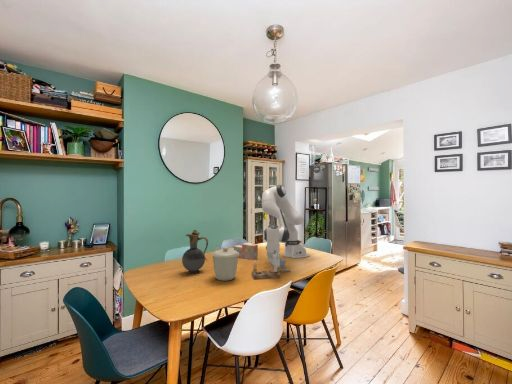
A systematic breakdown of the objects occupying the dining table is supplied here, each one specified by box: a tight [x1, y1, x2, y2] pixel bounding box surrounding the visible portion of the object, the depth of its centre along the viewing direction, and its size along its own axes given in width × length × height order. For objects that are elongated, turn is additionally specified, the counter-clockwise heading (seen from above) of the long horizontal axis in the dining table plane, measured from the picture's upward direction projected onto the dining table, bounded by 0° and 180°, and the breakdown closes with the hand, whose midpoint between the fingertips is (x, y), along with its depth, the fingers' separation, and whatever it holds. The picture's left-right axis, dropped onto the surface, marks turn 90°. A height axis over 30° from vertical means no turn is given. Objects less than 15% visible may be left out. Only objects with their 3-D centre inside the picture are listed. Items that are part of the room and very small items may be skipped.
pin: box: [252, 260, 258, 272], centre depth 177 cm, size 3×3×7 cm
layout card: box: [279, 268, 291, 273], centre depth 175 cm, size 7×3×1 cm, turn 101°
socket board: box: [251, 269, 281, 280], centre depth 165 cm, size 18×8×2 cm, turn 101°
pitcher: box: [181, 229, 209, 275], centre depth 175 cm, size 11×19×30 cm, turn 126°
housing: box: [277, 253, 286, 269], centre depth 186 cm, size 10×5×10 cm, turn 101°
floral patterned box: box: [233, 242, 259, 261], centre depth 212 cm, size 21×6×12 cm, turn 57°
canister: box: [211, 246, 239, 282], centre depth 162 cm, size 18×18×21 cm
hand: (273, 269), depth 166 cm, fingers open, 8 cm apart
